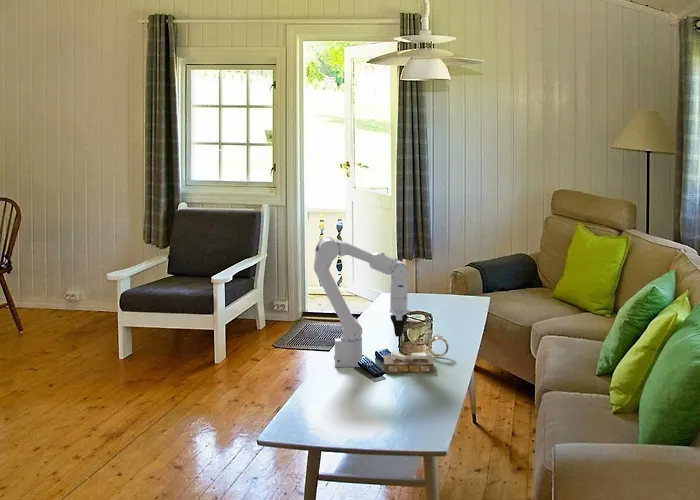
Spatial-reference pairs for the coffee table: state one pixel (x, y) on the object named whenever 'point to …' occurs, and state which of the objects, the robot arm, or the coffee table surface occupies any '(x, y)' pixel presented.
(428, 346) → the ring
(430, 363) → the switch box
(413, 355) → the rocker right
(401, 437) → the coffee table surface
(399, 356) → the block
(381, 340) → the coffee table surface
